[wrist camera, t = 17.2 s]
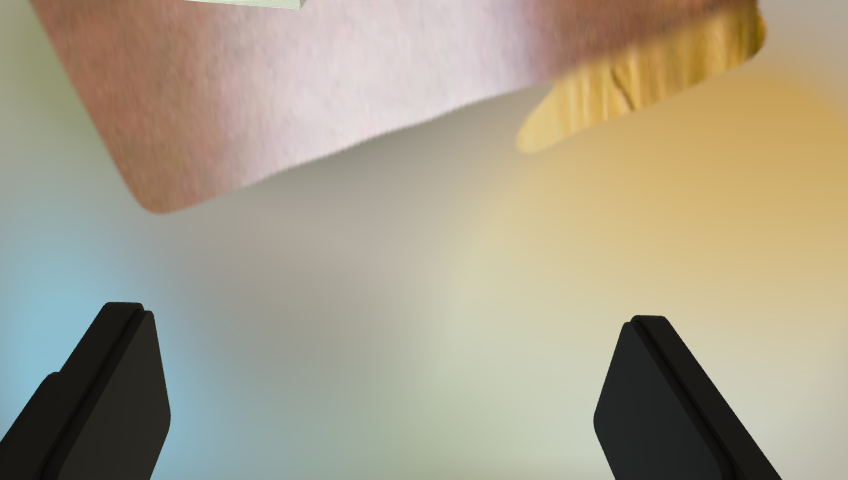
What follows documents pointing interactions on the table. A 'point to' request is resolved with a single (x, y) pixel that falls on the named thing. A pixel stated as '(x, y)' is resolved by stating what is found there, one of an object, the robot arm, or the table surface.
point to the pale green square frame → (263, 3)
